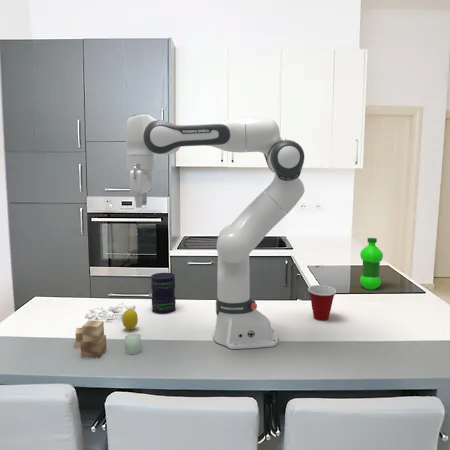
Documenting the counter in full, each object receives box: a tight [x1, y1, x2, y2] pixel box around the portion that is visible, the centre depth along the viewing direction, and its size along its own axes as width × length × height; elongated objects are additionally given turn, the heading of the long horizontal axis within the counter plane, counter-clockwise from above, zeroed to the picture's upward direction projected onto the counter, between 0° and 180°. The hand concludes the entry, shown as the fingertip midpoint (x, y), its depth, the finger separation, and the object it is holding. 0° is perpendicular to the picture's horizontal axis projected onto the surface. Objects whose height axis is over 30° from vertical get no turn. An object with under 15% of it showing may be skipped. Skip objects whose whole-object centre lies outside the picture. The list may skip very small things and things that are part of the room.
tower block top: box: [81, 320, 105, 342], centre depth 130 cm, size 5×5×5 cm
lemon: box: [121, 309, 139, 331], centre depth 150 cm, size 6×6×8 cm
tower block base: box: [80, 334, 108, 359], centre depth 130 cm, size 6×6×5 cm
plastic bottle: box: [359, 237, 384, 291], centre depth 202 cm, size 10×10×25 cm
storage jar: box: [150, 272, 176, 315], centre depth 171 cm, size 10×10×15 cm
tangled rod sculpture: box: [84, 302, 136, 321], centre depth 165 cm, size 19×14×4 cm
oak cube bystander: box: [74, 327, 83, 349], centre depth 137 cm, size 5×5×5 cm
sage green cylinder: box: [124, 333, 142, 355], centre depth 132 cm, size 5×5×5 cm
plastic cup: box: [307, 284, 337, 321], centre depth 161 cm, size 11×11×12 cm
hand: (141, 206), depth 137 cm, fingers open, 8 cm apart
